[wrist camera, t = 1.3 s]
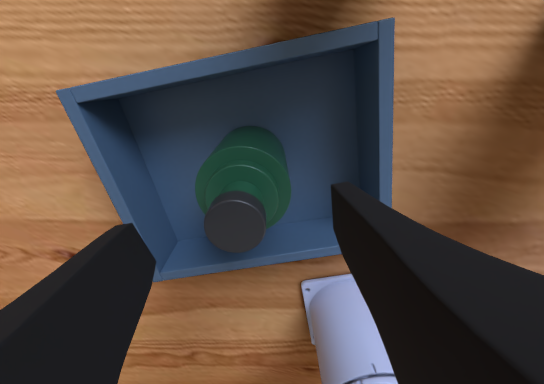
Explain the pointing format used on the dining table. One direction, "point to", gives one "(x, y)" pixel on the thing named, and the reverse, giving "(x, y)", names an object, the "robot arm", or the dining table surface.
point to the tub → (237, 113)
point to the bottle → (243, 188)
